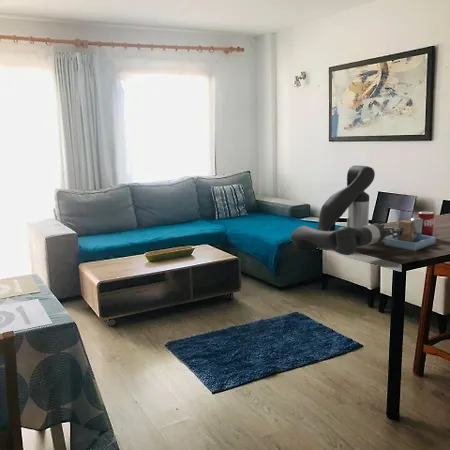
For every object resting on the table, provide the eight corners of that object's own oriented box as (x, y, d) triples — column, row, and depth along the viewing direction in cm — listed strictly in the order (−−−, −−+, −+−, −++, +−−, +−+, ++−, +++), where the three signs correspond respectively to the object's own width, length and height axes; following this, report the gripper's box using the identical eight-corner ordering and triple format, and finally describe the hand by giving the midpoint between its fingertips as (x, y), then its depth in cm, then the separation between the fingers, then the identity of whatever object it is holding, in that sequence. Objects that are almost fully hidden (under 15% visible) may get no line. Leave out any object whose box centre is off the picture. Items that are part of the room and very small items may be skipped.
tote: (414, 250, 208) (415, 243, 207) (384, 245, 218) (384, 238, 218) (435, 243, 220) (435, 237, 219) (405, 238, 230) (405, 232, 229)
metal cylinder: (410, 242, 219) (412, 219, 217) (407, 239, 224) (409, 217, 222) (421, 242, 219) (424, 220, 217) (419, 240, 223) (421, 218, 222)
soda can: (412, 237, 233) (414, 211, 231) (425, 236, 235) (426, 210, 233) (424, 240, 226) (425, 214, 224) (436, 239, 229) (438, 213, 226)
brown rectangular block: (407, 245, 213) (408, 222, 211) (397, 244, 216) (399, 221, 214) (412, 244, 216) (414, 221, 214) (403, 242, 219) (404, 219, 217)
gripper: (355, 240, 202) (377, 234, 213) (387, 246, 192) (408, 239, 202) (355, 222, 201) (378, 217, 212) (387, 227, 191) (409, 221, 201)
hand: (393, 228), depth 207 cm, fingers open, 8 cm apart
